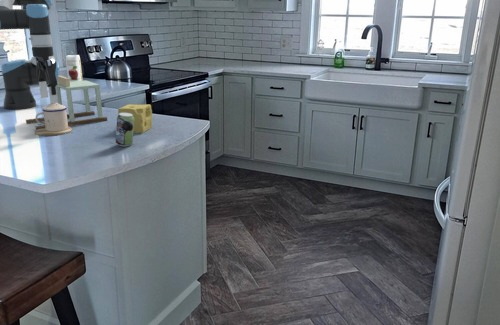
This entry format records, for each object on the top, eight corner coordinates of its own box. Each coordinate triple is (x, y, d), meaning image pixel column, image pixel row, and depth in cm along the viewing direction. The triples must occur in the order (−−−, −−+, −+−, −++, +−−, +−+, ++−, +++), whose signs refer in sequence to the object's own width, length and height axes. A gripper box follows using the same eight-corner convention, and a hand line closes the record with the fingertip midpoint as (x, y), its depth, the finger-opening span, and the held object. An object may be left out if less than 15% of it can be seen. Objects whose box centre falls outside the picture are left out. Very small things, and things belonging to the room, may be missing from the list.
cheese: (143, 133, 191) (141, 109, 188) (118, 132, 193) (116, 108, 190) (153, 127, 201) (151, 104, 198) (129, 126, 203) (127, 103, 200)
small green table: (58, 115, 218) (53, 75, 212) (89, 111, 226) (84, 72, 220) (71, 122, 204) (65, 79, 199) (102, 117, 212) (98, 76, 207)
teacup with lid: (69, 125, 201) (65, 98, 197) (68, 130, 193) (65, 102, 189) (38, 128, 197) (34, 100, 194) (36, 133, 189) (32, 104, 185)
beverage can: (117, 143, 177) (114, 111, 174) (137, 142, 178) (135, 111, 174) (114, 148, 171) (111, 115, 168) (135, 147, 172) (132, 114, 168)
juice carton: (70, 83, 322) (67, 54, 316) (83, 83, 323) (80, 54, 317) (67, 85, 315) (64, 55, 309) (81, 84, 316) (77, 55, 310)
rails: (26, 123, 210) (25, 119, 210) (93, 114, 227) (92, 111, 227) (36, 130, 197) (36, 127, 196) (107, 120, 214) (106, 117, 213)
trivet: (31, 131, 196) (30, 129, 196) (65, 126, 204) (65, 124, 204) (40, 137, 186) (40, 135, 185) (76, 132, 194) (76, 130, 193)
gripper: (23, 44, 192) (31, 96, 198) (40, 49, 173) (48, 106, 180) (43, 43, 196) (50, 94, 203) (61, 47, 177) (68, 104, 184)
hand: (49, 100), depth 191 cm, fingers open, 13 cm apart
